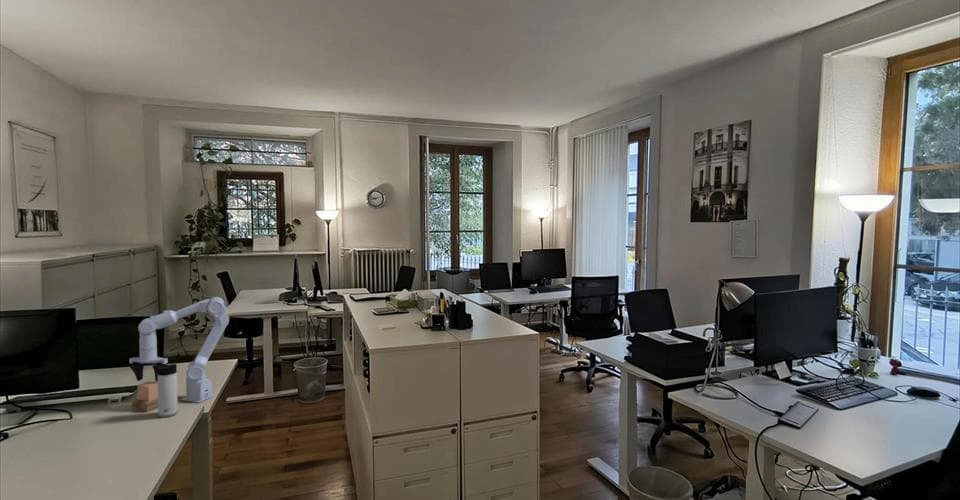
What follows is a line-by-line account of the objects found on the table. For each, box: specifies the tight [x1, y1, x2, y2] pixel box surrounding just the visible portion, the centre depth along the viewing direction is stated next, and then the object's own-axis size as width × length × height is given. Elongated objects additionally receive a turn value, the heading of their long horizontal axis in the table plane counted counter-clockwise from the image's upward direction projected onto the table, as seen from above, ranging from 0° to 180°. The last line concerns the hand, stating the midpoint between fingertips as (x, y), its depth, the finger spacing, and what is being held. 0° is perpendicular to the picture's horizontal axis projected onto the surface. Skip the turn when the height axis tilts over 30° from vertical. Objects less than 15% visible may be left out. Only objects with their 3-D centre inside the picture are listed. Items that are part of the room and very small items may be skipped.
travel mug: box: [157, 363, 179, 419], centre depth 176 cm, size 6×7×20 cm
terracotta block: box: [136, 380, 158, 401], centre depth 184 cm, size 6×6×6 cm
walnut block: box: [131, 398, 158, 413], centre depth 184 cm, size 8×8×4 cm
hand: (149, 380), depth 185 cm, fingers open, 7 cm apart
